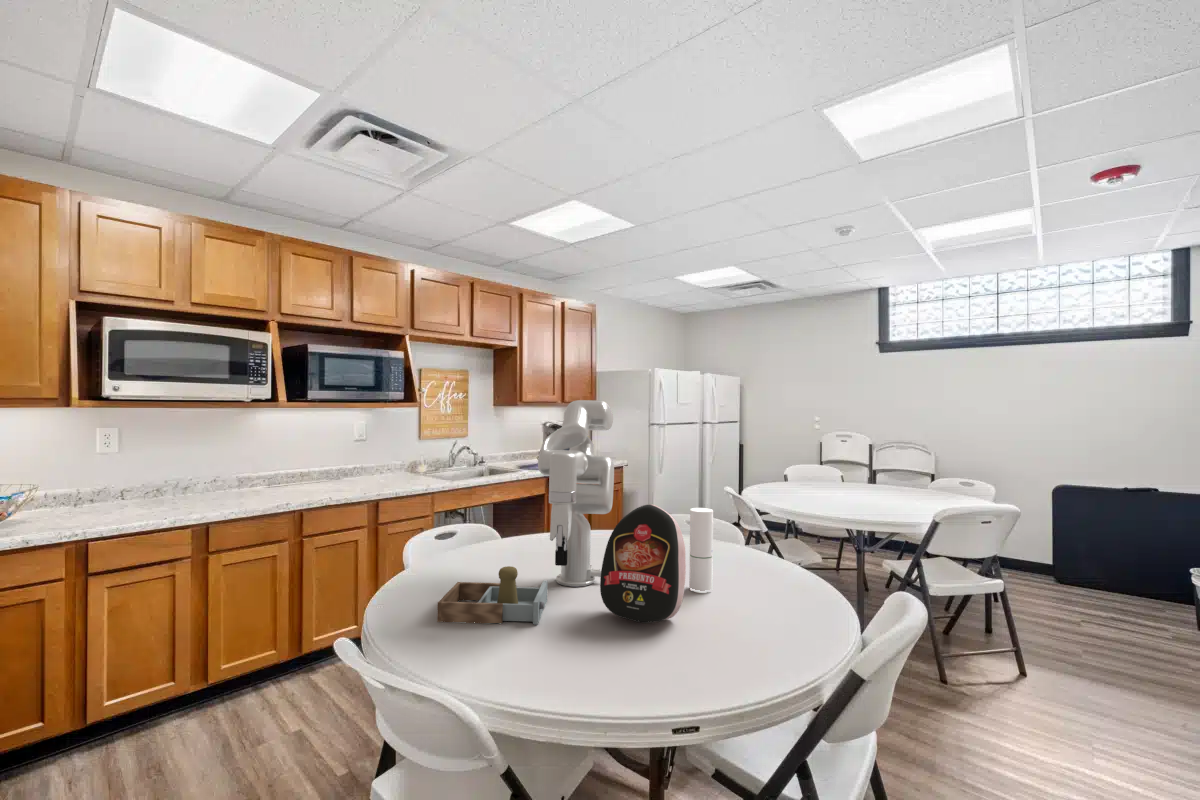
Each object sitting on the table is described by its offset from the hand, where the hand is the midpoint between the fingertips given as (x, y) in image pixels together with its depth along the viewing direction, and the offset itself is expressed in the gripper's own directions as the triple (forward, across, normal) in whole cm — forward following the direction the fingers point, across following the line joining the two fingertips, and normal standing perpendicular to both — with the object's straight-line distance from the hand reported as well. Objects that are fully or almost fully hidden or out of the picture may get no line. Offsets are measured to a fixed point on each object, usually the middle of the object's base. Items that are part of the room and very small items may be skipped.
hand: (561, 564), depth 146 cm
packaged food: (+14, 0, +23) cm, 26 cm away
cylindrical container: (+13, -24, +42) cm, 50 cm away
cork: (+13, -1, -15) cm, 19 cm away
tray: (+13, -1, -13) cm, 18 cm away
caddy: (+13, -1, -22) cm, 26 cm away
